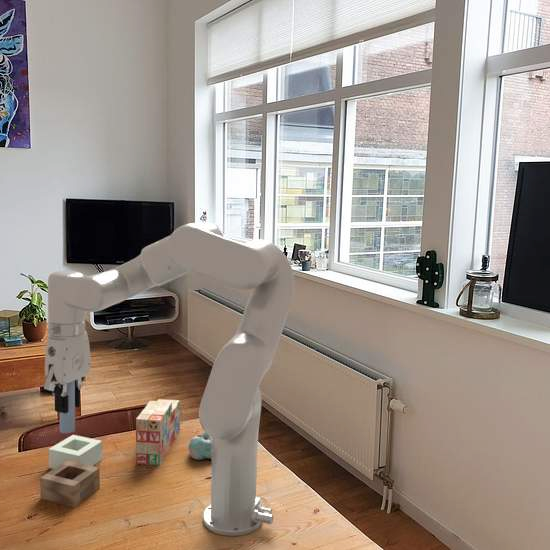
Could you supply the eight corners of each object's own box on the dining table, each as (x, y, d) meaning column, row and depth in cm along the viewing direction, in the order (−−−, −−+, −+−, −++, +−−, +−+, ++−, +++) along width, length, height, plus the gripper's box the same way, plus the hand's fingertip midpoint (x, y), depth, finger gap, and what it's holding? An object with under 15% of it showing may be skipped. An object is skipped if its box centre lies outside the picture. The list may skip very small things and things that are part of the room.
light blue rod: (78, 428, 134) (77, 360, 131) (68, 434, 131) (68, 364, 128) (66, 426, 135) (65, 358, 132) (56, 431, 132) (55, 362, 129)
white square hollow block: (102, 459, 151) (102, 440, 151) (79, 475, 143) (79, 455, 142) (73, 452, 154) (73, 434, 154) (49, 468, 146) (48, 448, 145)
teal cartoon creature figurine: (240, 433, 157) (209, 439, 148) (236, 460, 157) (204, 467, 148) (212, 422, 164) (180, 426, 155) (208, 447, 164) (175, 453, 155)
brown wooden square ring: (99, 488, 138) (99, 467, 137) (74, 507, 129) (73, 486, 128) (67, 480, 141) (67, 460, 140) (40, 498, 132) (40, 477, 131)
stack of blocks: (158, 429, 171) (158, 388, 169) (180, 431, 170) (180, 389, 168) (135, 464, 150) (135, 418, 148) (160, 466, 149) (160, 419, 147)
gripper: (54, 339, 120) (55, 425, 123) (104, 322, 135) (104, 399, 138) (25, 334, 122) (26, 419, 125) (77, 318, 138) (77, 394, 141)
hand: (67, 408), depth 132 cm, fingers closed on light blue rod, 3 cm apart
